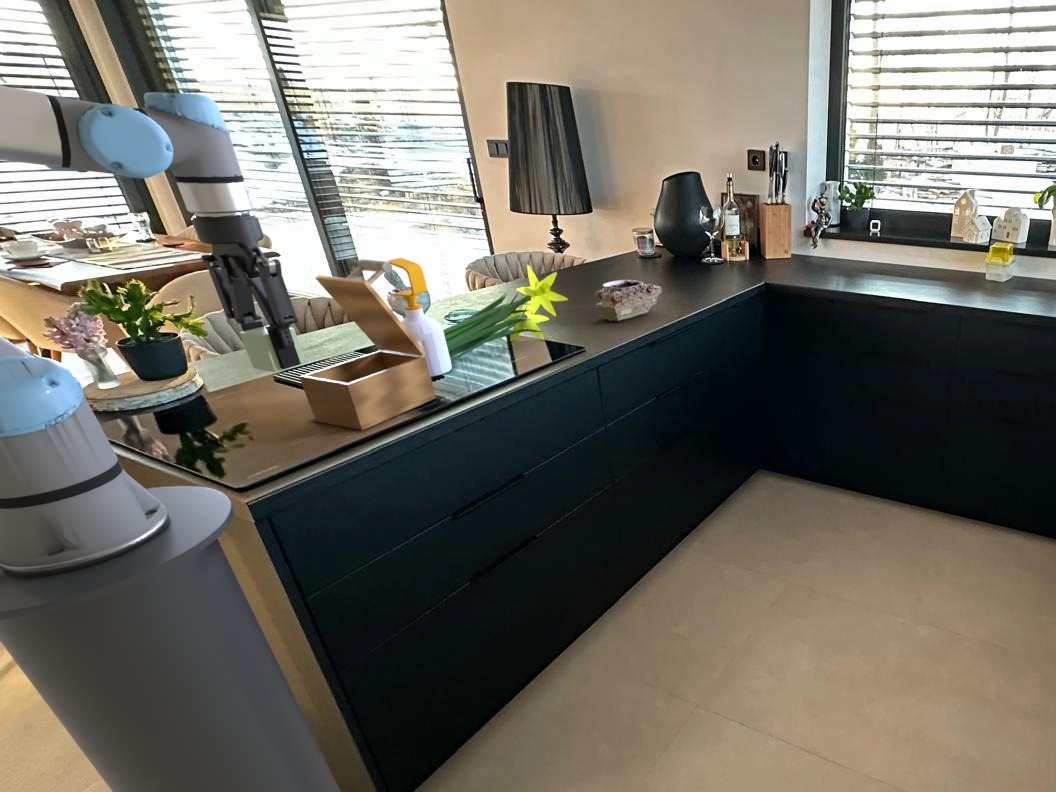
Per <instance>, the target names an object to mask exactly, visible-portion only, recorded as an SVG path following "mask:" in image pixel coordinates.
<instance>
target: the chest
mask: <svg viewBox="0 0 1056 792" xmlns="http://www.w3.org/2000/svg"><path fill="white" fill-rule="evenodd" d="M299 381H300V383H301V386H302V388H303V391H304V394H305V397H306V399H307V402H308V405H309V408H310V411H311V413H312V416H313V420H314V421H315V422H318V423H323V424H329V425H334V426H338V427H344V428H348V429H353V430H359V431H364V430H366V429H368V428H371V427H373V426H376V425H378V424H380V423H382V422H385V421H387V420H389V419H391V418H392V419H393V418H394V417H396V416H398V415H401V414H403V413H405V412H408V411H410V410H412V409H414V408H417V407H419V406H422V405H424V404H426V403H428V402H430V401H433V400H435V399H437V396H436V392H435V388H434V384H433V379H432V377H431V376H430V372H429V369H428V365H427V361H426V357H423V356H416V355H410V354H403V353H400V352H395V351H388V350H382V349H378V350H377V351H373V352H371V353H367V354H364V355H361V356H358V357H355V358H352V359H348V360H346V361H343V362H339V363H336V364H333V365H330V366H326V367H324V368H321V369H318V370H315V371H312V372H309V373H306V374H303V375H300V376H299Z"/></svg>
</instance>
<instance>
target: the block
mask: <svg viewBox="0 0 1056 792" xmlns="http://www.w3.org/2000/svg"><path fill="white" fill-rule="evenodd" d="M268 326H269V324H268V325H264V327H260V328H256V329H252V330H248V331H243V330H242V331H239V336H240V338H241V341H242V343H243V345H244V348H245V351H246V353H247V355H248V358H249V361H250V363H251V365H252V368H253V369H255V370H262V371H265V372H272V373H278V372H282V371H284V370H288V369H291V368H294V367H295V366H293V367H290V368H287V369H281V367H280V364H279V362H278V359H277V356H276V353H275V351H274V348H273V345H272V342H271V340H270V337H269V334H268V332H267V330H266V329H265V327H268ZM289 329H290V332H291V335H292V338H293V341H294V345H295V348H296V351H297V354H298V357H299V360H300V363H301V364H300V365H297V366H296V367H298V366H301V365H304V364H306V363H307V361H306V358H305V356H304V352H303V349H302V347H301V344H300V341H299V339H298V336H297V333H296V330H295V328H294V327H291V326H289Z"/></svg>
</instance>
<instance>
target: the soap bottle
mask: <svg viewBox="0 0 1056 792" xmlns="http://www.w3.org/2000/svg"><path fill="white" fill-rule="evenodd" d="M387 262H389V263H390V264H391V265H392V266H394V267H397V268H399V269H401V270H403V271H405V272H406V274H407V277H408V281H409V284H410V288H411V289H404V290H401V291H397V292H394V297H402V299H403V300H404V301H406V305H404V306H403V308H404V312H405V318H404V319H402V320H400V322H401V323H402V324H403V325H404V327H405V328H406V329H407V330H408V331H409V333H410V334H411V335H412V336H413V338H414V339H415V340H416V341H417V342H418V344H419V345H420V346H421V347H422V349H423V350H424V351H425V352H426V354H425V355H424V356H423V357H426V361H427V365H428V369H429V372H430V376H431V378H432V377H438V376H442V375H444V374H446V373H449V372H450V371H451V370H452V367H453V365H452V362H451V360H450V359H451V357H450V356H449V352H448V348H447V344H446V340H445V336H444V332H443V330H444V328H443V325H442V324H441V323H440V321H438V320H437V319H434V318H432V317H430V316H427V315H425V313H424V309H423V306H422V304H420V303H417V299H419V297H418V295H421V294H424V293H426V292H427V291H428V285H427V281H426V279H425V274H424V271H423V267H421V265H420V264H418V263H417V262H414V261H410V260H408V259H405V258H403V257H397V258H393V259H389V260H388V261H387ZM399 353H402V352H399ZM403 354H408V353H403ZM410 355H415V354H410ZM416 356H422V355H416Z"/></svg>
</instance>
